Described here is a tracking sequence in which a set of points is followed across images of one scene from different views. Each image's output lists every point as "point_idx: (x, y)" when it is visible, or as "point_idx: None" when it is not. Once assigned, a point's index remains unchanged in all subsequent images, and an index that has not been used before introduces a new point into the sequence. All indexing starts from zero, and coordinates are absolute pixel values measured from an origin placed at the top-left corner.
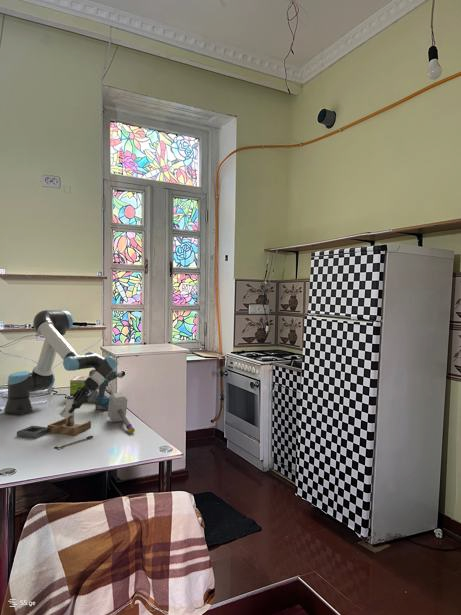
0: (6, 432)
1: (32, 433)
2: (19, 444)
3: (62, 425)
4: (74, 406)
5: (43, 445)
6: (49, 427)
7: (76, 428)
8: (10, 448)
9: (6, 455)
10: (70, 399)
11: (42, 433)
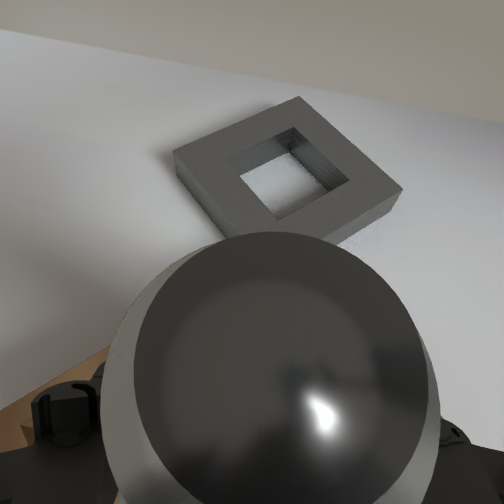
0: (405, 108)
1: (196, 140)
2: (135, 98)
3: None
4: (26, 452)
5: (6, 171)
6: None
7: (3, 448)
8: (104, 63)
9: (18, 35)
10: (118, 330)
11: (213, 211)
